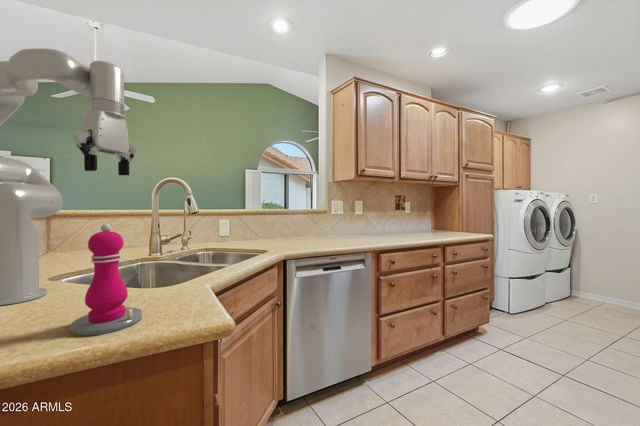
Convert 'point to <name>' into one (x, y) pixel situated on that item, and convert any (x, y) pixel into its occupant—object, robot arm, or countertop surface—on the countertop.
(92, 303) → the pepper mill
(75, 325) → the grey flat disc
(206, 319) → the countertop surface
